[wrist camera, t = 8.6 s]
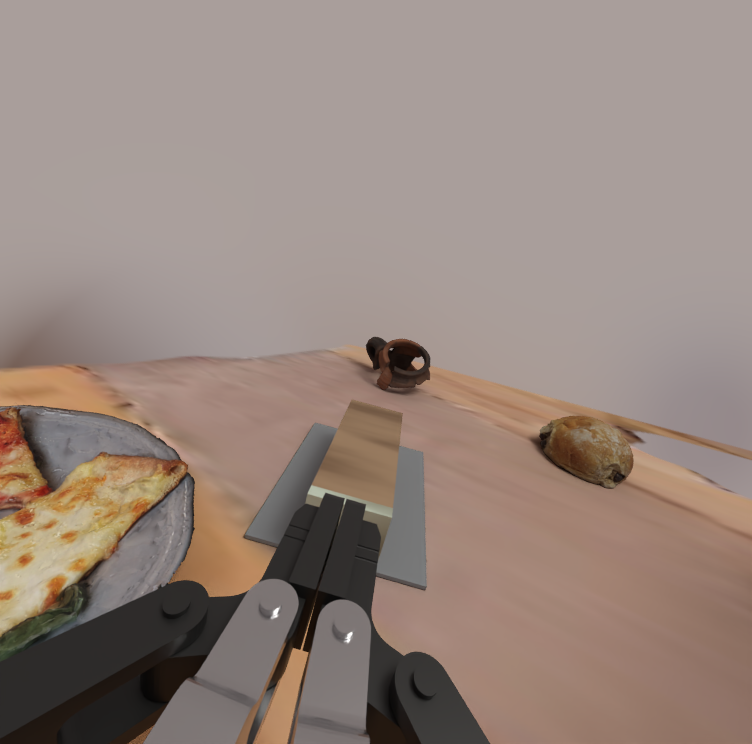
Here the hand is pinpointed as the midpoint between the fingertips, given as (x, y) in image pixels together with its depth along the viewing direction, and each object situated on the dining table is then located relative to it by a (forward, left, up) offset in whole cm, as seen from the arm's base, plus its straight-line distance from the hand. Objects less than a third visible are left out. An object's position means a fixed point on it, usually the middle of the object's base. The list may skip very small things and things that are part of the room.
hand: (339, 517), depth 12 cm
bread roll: (-40, -9, -10) cm, 43 cm away
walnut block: (-4, -5, -7) cm, 10 cm away
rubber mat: (-9, -12, -10) cm, 18 cm away
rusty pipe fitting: (-27, -34, -10) cm, 44 cm away
